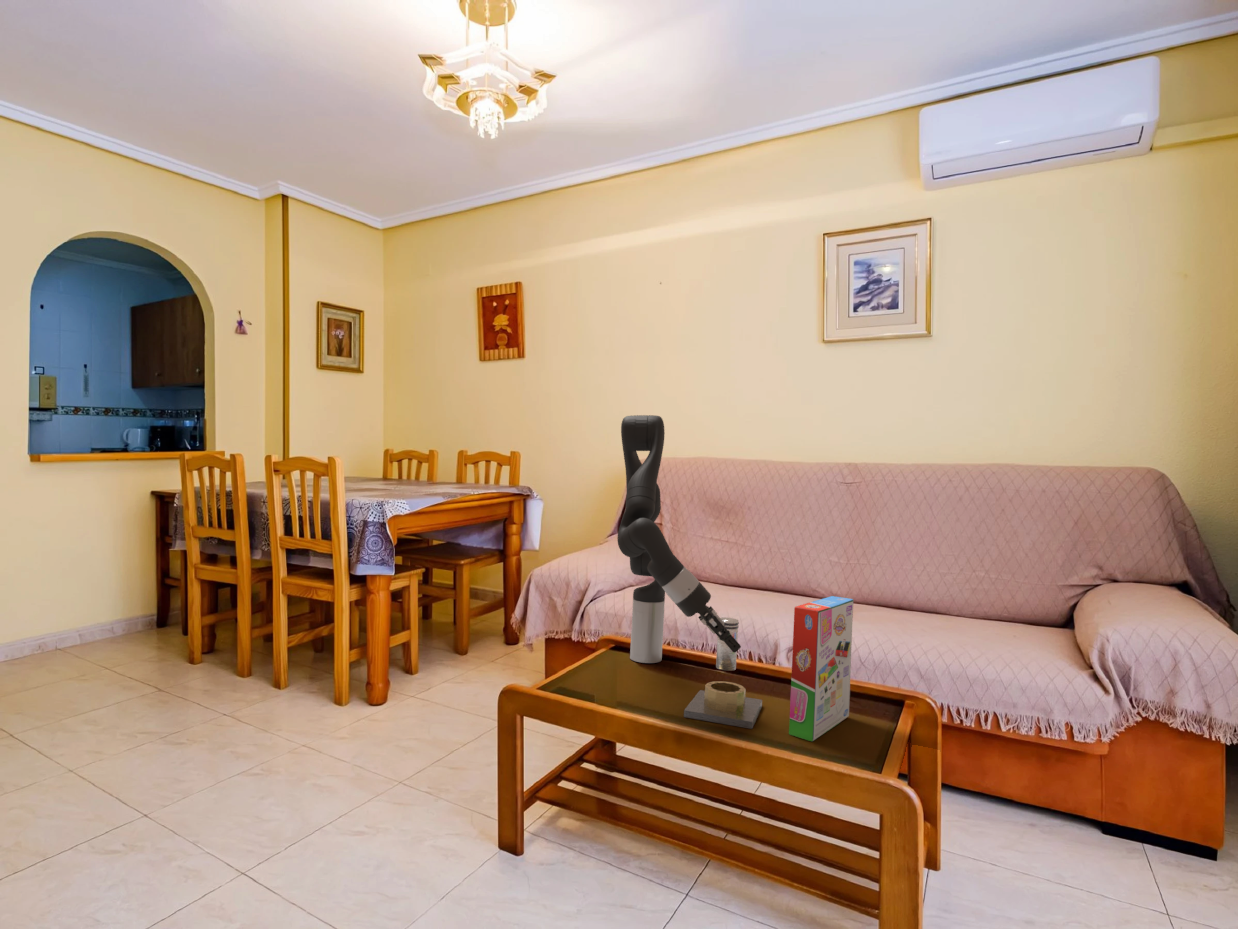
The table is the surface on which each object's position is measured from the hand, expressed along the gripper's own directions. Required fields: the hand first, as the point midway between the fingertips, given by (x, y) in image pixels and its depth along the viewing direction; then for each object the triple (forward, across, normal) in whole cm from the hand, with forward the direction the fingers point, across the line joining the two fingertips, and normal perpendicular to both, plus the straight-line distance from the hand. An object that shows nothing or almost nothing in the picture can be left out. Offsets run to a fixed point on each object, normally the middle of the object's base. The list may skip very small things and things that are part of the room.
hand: (735, 646), depth 153 cm
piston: (+2, 0, +5) cm, 5 cm away
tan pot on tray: (+9, 0, +12) cm, 15 cm away
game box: (+24, -6, -2) cm, 24 cm away
